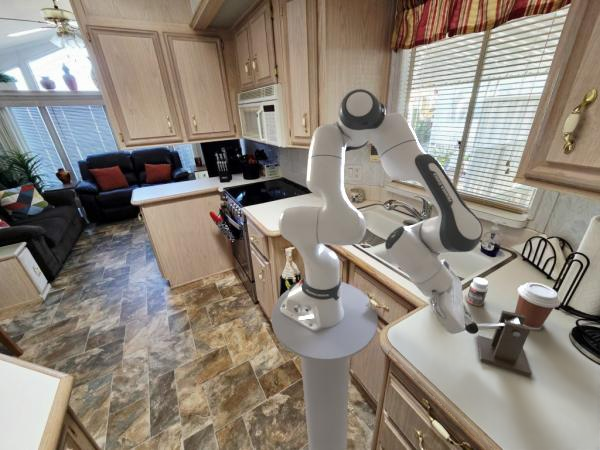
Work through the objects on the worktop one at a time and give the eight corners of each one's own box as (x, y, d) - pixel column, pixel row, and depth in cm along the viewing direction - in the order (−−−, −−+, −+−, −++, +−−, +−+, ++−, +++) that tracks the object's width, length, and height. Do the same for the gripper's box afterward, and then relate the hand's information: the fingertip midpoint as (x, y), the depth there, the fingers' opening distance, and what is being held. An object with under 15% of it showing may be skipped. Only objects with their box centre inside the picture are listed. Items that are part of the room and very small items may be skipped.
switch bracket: (480, 361, 64) (493, 325, 59) (476, 338, 71) (488, 303, 66) (530, 376, 60) (548, 339, 55) (521, 350, 66) (537, 314, 61)
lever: (467, 336, 66) (462, 327, 66) (466, 328, 69) (462, 318, 68) (524, 335, 59) (520, 324, 59) (521, 325, 62) (517, 315, 61)
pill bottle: (464, 301, 84) (470, 281, 81) (468, 294, 87) (474, 274, 84) (481, 308, 81) (487, 287, 77) (484, 300, 84) (491, 280, 80)
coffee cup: (547, 338, 69) (563, 305, 64) (506, 322, 75) (518, 291, 70) (548, 319, 75) (563, 288, 70) (510, 306, 81) (521, 275, 76)
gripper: (444, 301, 55) (487, 348, 55) (445, 256, 71) (477, 292, 71) (419, 310, 59) (459, 354, 59) (425, 265, 75) (456, 300, 75)
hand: (469, 320), depth 65 cm, fingers closed
